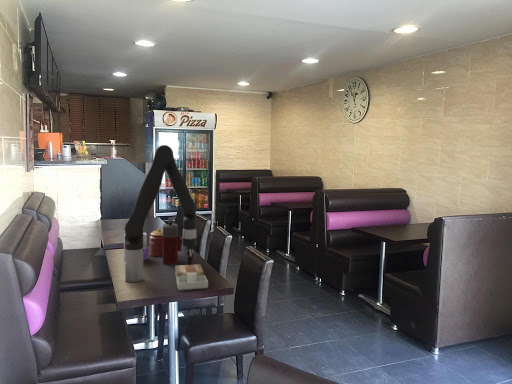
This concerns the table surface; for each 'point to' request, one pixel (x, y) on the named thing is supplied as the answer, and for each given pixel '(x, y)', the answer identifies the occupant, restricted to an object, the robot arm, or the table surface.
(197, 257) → the table surface
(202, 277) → the grey tray
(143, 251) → the candy box
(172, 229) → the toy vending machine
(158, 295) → the table surface
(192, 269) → the terracotta tile
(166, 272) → the table surface
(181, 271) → the birch board
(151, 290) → the table surface
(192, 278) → the white tile
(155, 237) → the canister
